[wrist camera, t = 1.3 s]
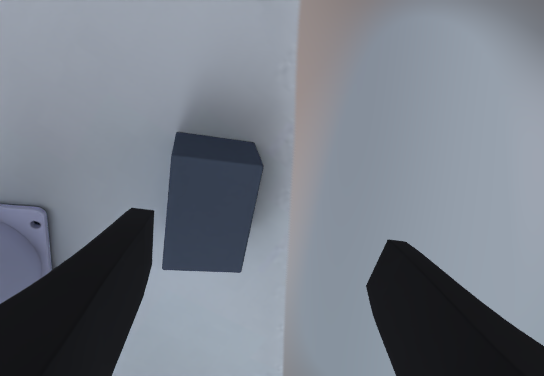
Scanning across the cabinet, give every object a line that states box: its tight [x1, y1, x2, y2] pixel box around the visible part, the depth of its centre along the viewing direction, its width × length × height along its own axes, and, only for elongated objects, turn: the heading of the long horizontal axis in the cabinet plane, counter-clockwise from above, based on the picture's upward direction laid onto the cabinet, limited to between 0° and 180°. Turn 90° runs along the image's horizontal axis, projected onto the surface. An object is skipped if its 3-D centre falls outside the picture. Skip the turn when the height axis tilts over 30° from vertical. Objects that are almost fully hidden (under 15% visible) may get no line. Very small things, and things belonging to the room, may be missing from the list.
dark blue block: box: [162, 132, 263, 273], centre depth 19 cm, size 7×4×4 cm, turn 168°
